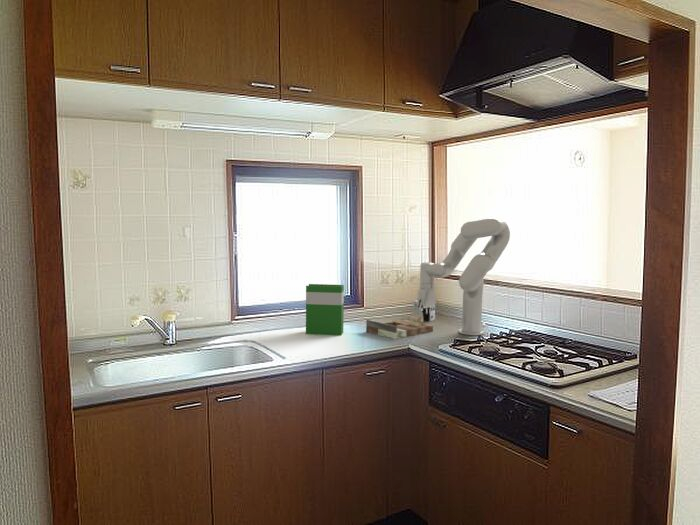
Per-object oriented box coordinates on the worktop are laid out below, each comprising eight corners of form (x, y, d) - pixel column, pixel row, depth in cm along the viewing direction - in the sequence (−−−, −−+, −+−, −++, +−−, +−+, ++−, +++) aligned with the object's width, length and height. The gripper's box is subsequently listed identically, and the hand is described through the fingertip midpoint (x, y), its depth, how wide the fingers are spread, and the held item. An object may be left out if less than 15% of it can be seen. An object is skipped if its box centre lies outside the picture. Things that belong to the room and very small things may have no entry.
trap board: (404, 324, 281) (404, 313, 281) (432, 331, 266) (433, 319, 266) (366, 331, 263) (366, 320, 262) (394, 339, 248) (395, 326, 248)
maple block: (415, 323, 272) (415, 315, 271) (423, 324, 268) (423, 316, 268) (409, 324, 268) (409, 316, 268) (416, 325, 265) (416, 318, 264)
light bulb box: (435, 319, 297) (435, 301, 296) (430, 321, 291) (430, 302, 290) (418, 317, 302) (418, 299, 302) (413, 319, 297) (413, 300, 296)
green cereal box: (305, 334, 257) (306, 285, 255) (308, 330, 264) (309, 284, 262) (341, 335, 255) (341, 286, 253) (343, 332, 262) (343, 284, 260)
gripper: (430, 284, 279) (430, 318, 281) (412, 286, 270) (411, 321, 271) (441, 285, 274) (440, 320, 275) (423, 288, 264) (422, 323, 266)
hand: (426, 320), depth 273 cm, fingers closed
